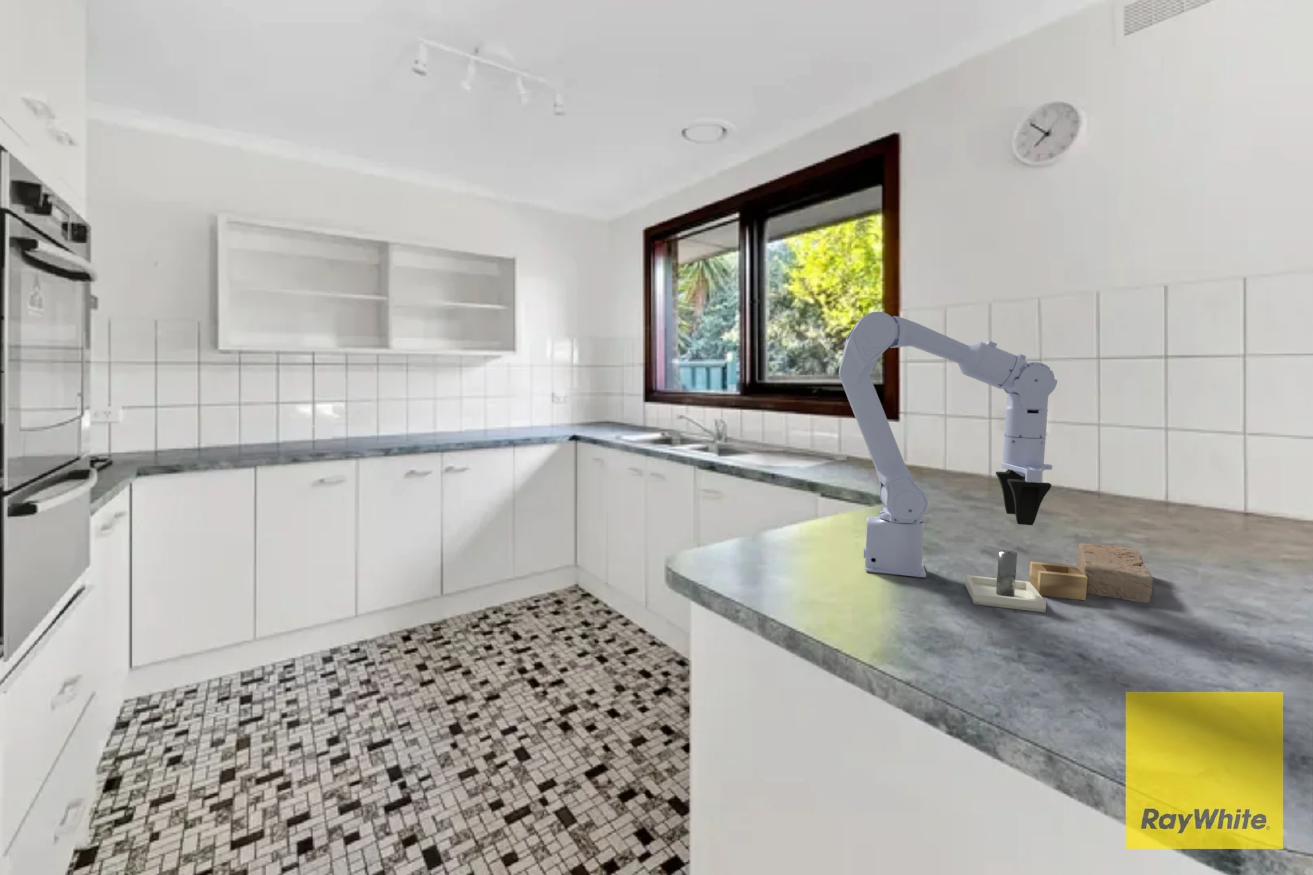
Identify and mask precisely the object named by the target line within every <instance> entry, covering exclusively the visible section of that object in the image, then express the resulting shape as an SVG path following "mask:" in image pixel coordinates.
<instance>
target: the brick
mask: <svg viewBox="0 0 1313 875" xmlns="http://www.w3.org/2000/svg"><path fill="white" fill-rule="evenodd" d="M1076 568H1077V569H1079V570H1080V571H1081V572H1082V573H1083V574H1084V575H1085V576H1086V577H1087V589H1086V594H1091V595H1096V596H1103V597H1111V598H1116V599H1120V600H1121V599H1122V600H1127V601H1132V602H1137V603H1146V604H1147V603H1148V604H1149V603H1150V602H1151V596H1152V595H1153V594H1152V593H1153V590H1152V589H1153V583H1154V578H1153V577H1152V573H1151V571H1150V570H1149V569H1148V568H1147V567H1146V566H1145V565H1144V561H1143V558H1142V555H1141V553H1140V551H1139V550H1138V549H1135V548H1131V547H1128V546H1120V545H1119V546H1118V545H1106V544H1095V543H1084V542H1083V543H1082V542H1079V544H1078V549H1077V559H1076Z"/></svg>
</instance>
